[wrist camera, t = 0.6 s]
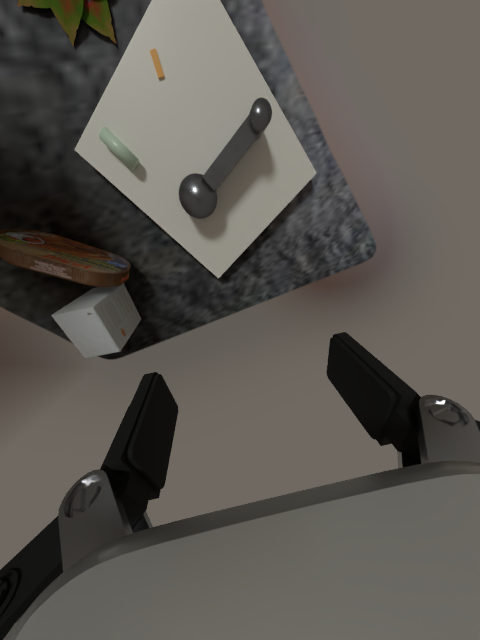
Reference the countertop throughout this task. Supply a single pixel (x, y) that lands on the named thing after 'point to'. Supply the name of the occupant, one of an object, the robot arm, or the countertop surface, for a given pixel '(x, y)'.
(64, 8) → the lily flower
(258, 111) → the grey knobbed bar
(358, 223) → the countertop surface
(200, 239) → the base
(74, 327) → the small box
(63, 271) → the tin
